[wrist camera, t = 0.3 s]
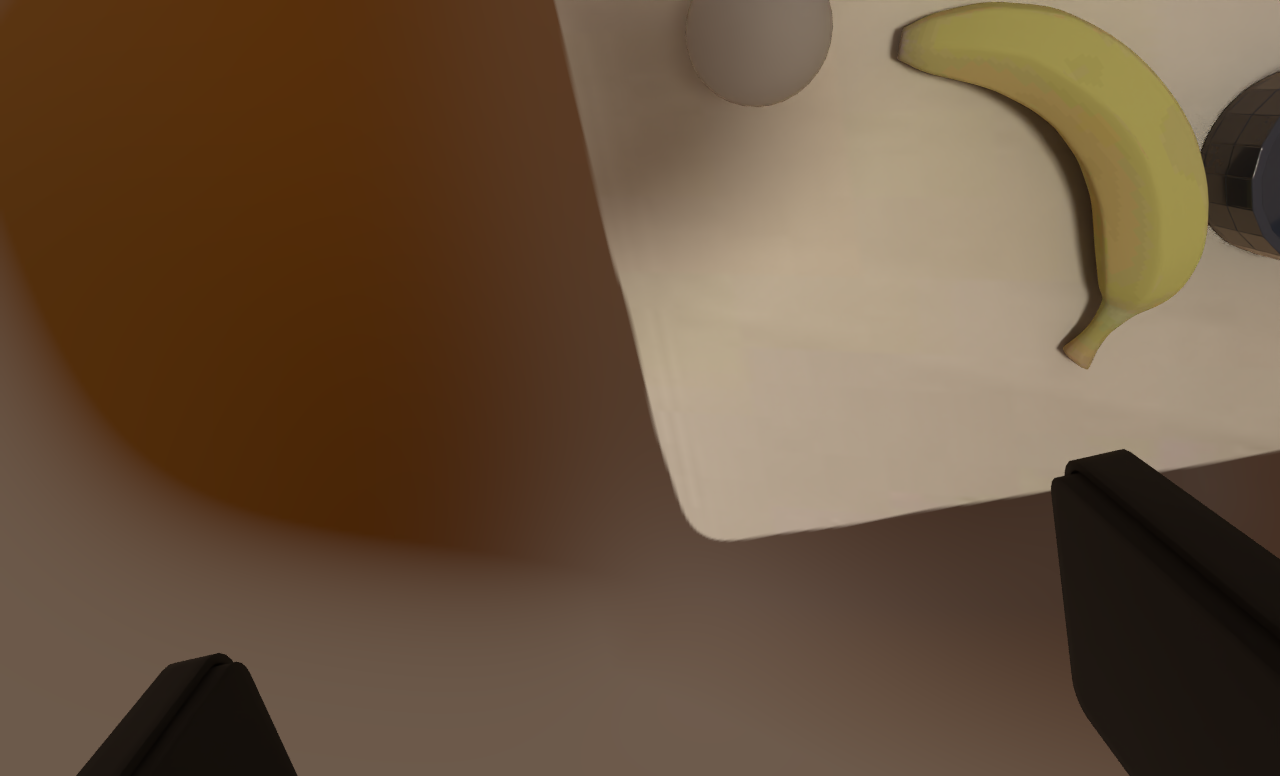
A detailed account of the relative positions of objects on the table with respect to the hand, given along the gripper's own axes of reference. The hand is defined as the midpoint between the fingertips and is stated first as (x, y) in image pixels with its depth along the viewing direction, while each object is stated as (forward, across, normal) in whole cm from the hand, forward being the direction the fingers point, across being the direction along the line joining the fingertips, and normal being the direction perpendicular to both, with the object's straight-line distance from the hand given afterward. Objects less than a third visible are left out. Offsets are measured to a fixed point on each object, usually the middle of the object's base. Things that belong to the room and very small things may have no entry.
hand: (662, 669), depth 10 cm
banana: (+39, -21, +4) cm, 45 cm away
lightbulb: (+40, -7, -7) cm, 41 cm away
